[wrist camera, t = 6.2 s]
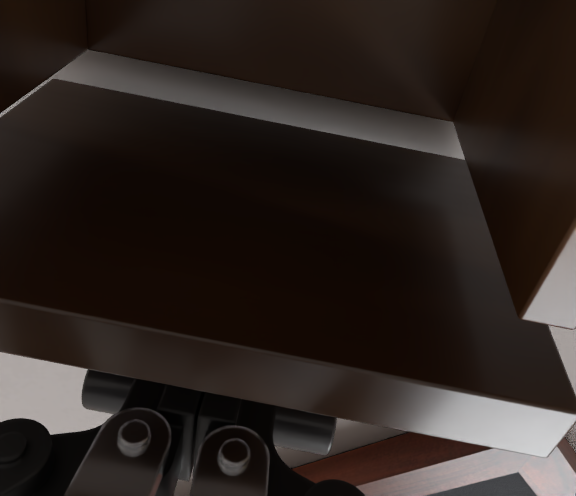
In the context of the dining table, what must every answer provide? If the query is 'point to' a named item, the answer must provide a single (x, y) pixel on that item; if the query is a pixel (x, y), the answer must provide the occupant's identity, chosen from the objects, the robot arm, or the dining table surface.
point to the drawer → (300, 214)
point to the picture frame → (447, 469)
